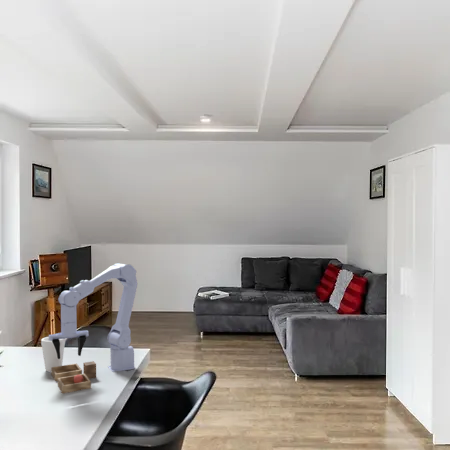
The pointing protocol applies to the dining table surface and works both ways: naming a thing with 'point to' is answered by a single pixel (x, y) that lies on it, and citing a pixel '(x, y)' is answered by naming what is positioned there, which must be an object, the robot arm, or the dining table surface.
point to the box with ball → (73, 384)
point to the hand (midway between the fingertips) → (69, 356)
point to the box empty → (65, 371)
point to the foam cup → (52, 353)
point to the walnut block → (90, 369)
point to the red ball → (78, 379)
